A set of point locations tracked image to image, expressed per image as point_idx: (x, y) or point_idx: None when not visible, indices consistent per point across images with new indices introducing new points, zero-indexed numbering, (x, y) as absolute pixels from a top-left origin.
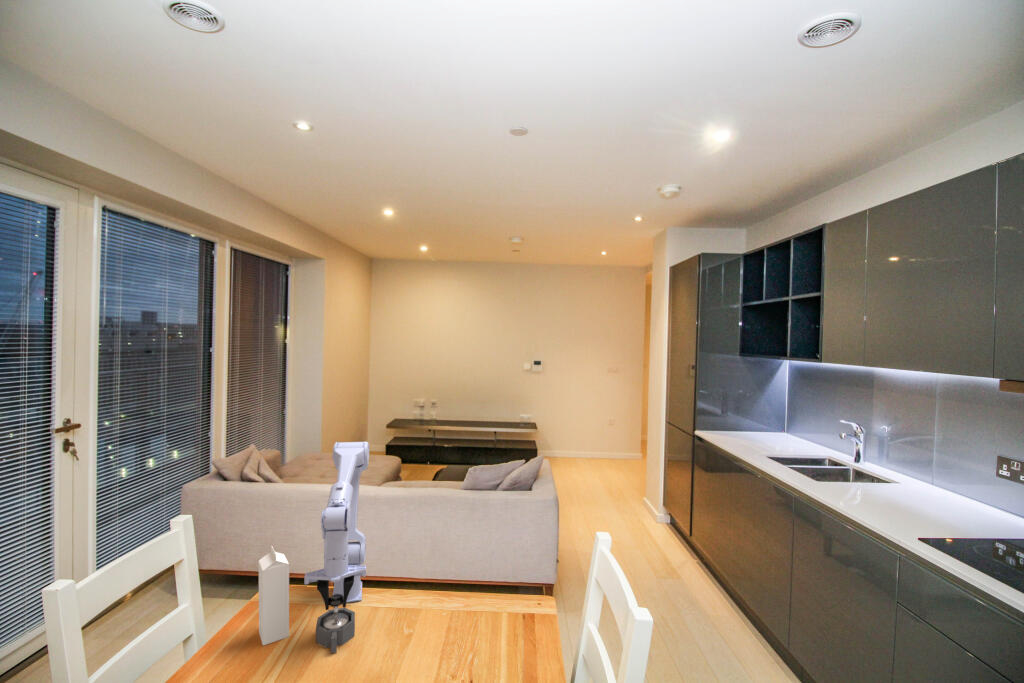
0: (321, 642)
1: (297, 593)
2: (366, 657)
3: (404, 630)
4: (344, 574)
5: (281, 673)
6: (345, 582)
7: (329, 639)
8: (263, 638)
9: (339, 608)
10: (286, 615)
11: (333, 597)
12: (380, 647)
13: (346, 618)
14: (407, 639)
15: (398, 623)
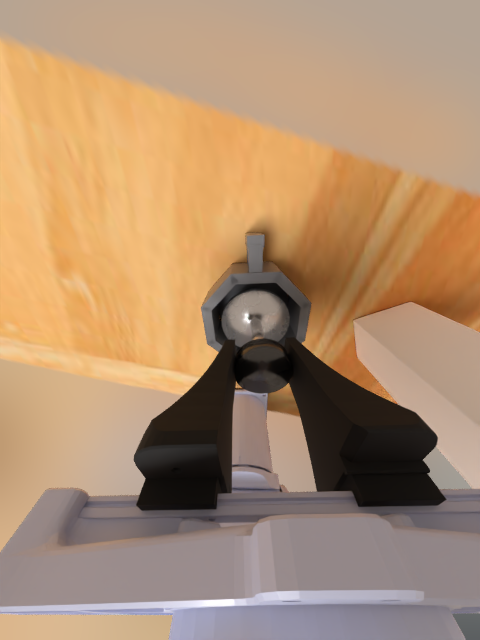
0: (286, 276)
1: None
2: (156, 190)
3: (86, 287)
4: (191, 604)
5: (393, 173)
6: (200, 456)
7: (267, 266)
8: (426, 309)
9: None
10: (400, 351)
11: (274, 378)
12: (127, 229)
13: (227, 326)
14: (61, 248)
15: (112, 314)
